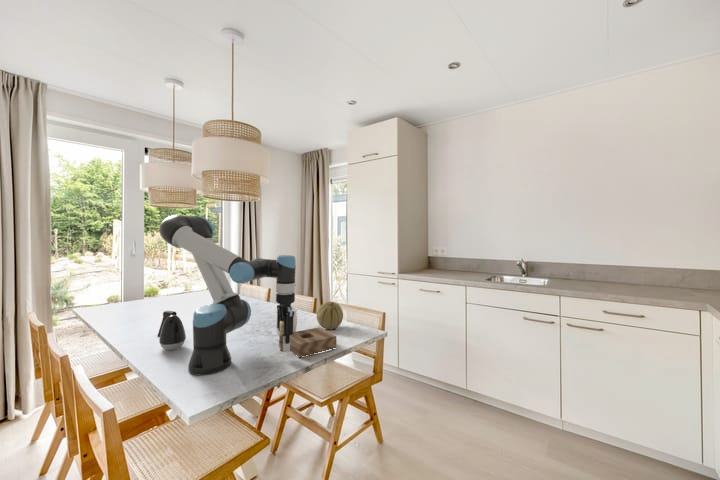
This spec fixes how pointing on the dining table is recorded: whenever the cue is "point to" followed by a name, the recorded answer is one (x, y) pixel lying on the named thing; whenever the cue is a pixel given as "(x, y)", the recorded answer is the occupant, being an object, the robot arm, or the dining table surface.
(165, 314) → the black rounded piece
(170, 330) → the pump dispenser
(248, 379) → the dining table surface
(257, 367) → the dining table surface
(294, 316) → the jar
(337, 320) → the cantaloupe
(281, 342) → the peg
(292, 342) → the wooden block with hole
